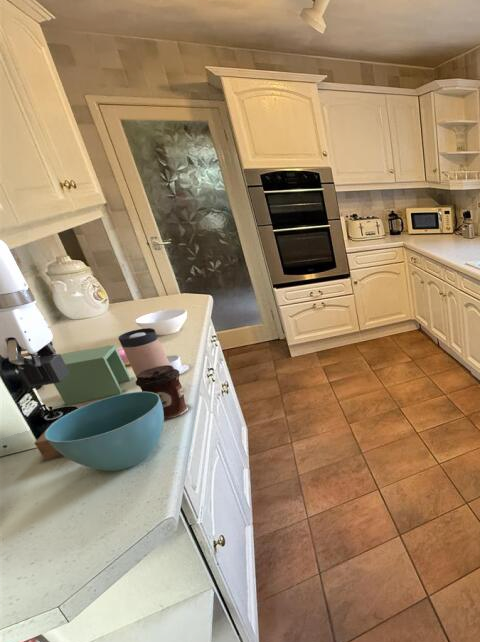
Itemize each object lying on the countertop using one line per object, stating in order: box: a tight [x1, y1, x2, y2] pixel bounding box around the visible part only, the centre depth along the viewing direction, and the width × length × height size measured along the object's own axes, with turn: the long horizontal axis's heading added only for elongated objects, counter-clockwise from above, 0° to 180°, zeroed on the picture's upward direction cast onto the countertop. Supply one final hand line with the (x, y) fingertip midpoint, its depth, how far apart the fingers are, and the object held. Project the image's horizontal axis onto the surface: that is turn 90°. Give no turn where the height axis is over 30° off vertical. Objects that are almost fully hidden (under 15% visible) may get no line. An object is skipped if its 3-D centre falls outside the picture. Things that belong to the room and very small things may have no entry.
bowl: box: [135, 308, 188, 336], centre depth 158 cm, size 16×16×7 cm
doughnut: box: [117, 348, 131, 366], centre depth 136 cm, size 11×11×4 cm
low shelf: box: [34, 421, 65, 461], centre depth 95 cm, size 12×9×5 cm
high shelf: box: [53, 344, 132, 406], centre depth 115 cm, size 12×10×12 cm
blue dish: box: [44, 391, 165, 472], centre depth 87 cm, size 18×18×12 cm
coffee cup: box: [135, 365, 189, 420], centre depth 104 cm, size 9×8×13 cm
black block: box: [17, 353, 70, 389], centre depth 88 cm, size 5×5×5 cm
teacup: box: [166, 354, 190, 375], centre depth 126 cm, size 10×10×5 cm
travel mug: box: [118, 328, 170, 379], centre depth 110 cm, size 8×8×20 cm
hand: (47, 376), depth 88 cm, fingers closed on black block, 5 cm apart
